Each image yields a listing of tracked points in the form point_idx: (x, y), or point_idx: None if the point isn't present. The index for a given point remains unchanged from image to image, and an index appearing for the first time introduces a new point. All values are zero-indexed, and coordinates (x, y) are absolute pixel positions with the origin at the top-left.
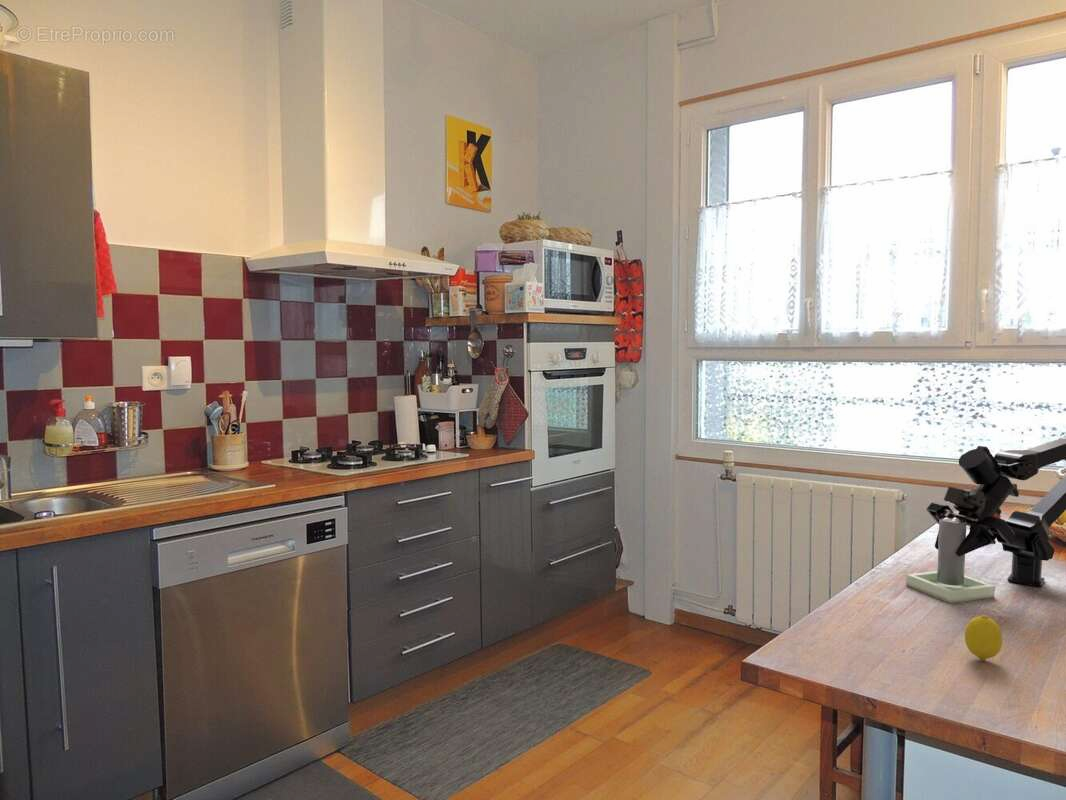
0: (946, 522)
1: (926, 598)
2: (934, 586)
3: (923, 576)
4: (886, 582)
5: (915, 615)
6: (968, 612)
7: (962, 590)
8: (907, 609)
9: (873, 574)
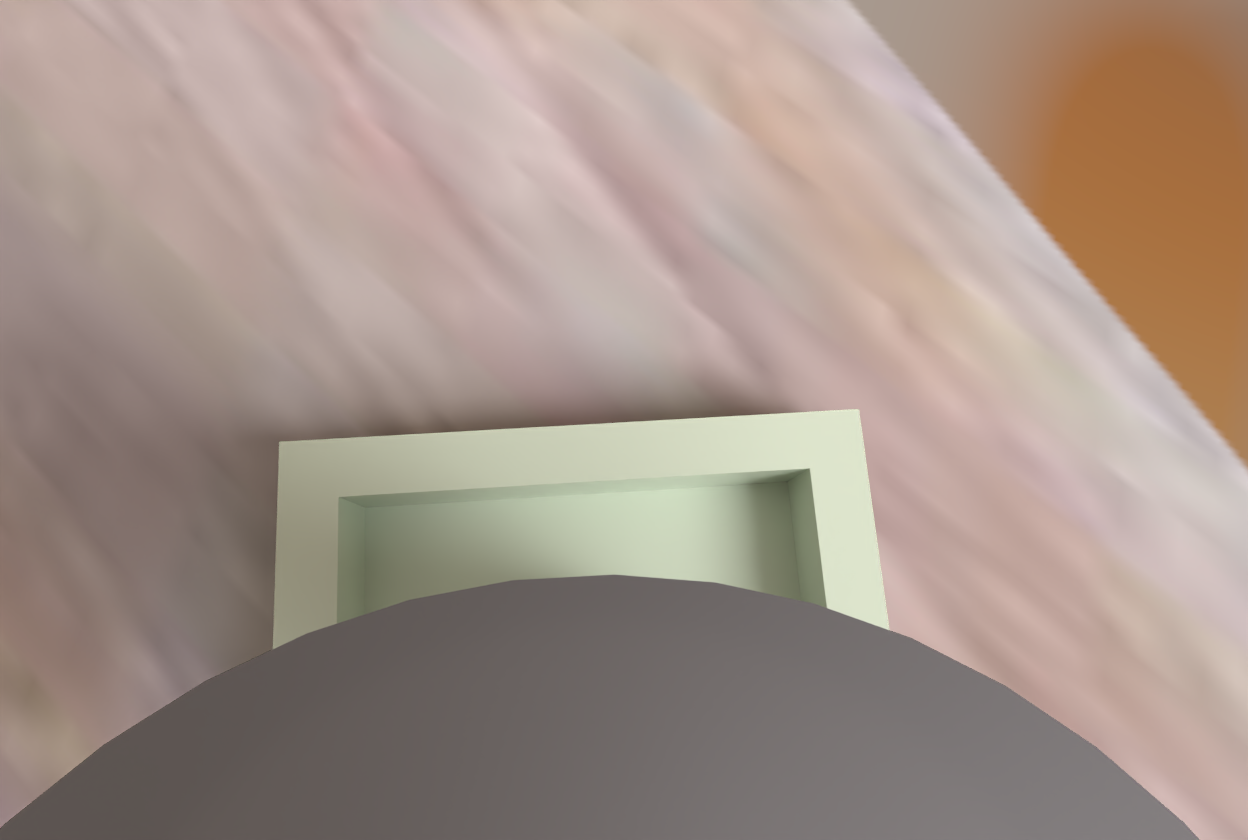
0: (414, 710)
1: (486, 360)
2: (489, 431)
3: (819, 586)
4: (929, 325)
5: (202, 17)
6: (94, 445)
7: (274, 599)
8: (322, 48)
9: (1155, 367)
